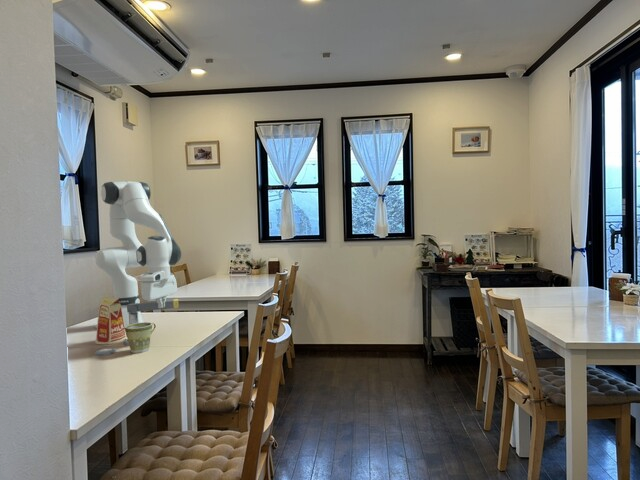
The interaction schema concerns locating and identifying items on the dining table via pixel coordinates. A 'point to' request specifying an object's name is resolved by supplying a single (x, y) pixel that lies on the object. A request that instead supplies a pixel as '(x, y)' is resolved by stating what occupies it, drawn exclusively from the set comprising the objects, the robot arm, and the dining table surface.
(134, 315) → the post
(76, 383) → the dining table surface
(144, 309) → the swing arm
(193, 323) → the dining table surface
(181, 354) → the dining table surface
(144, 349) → the ceramic cup
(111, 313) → the milk carton
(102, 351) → the label plate
